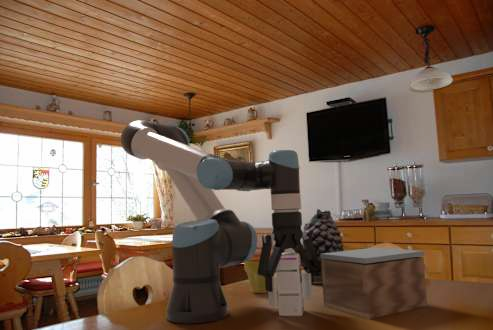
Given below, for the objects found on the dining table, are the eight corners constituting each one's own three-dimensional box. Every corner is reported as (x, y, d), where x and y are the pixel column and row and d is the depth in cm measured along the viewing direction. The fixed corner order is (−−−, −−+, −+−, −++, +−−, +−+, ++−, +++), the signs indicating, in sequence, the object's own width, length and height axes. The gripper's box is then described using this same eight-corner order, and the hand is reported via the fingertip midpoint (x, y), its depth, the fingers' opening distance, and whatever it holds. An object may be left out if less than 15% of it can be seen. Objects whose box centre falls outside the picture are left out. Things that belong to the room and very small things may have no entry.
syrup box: (302, 316, 96) (299, 254, 98) (278, 316, 98) (275, 254, 99) (304, 310, 102) (301, 251, 104) (280, 310, 103) (278, 252, 105)
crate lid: (365, 263, 93) (364, 258, 93) (320, 258, 107) (320, 253, 107) (424, 255, 103) (424, 251, 103) (376, 251, 117) (376, 247, 117)
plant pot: (240, 294, 125) (239, 261, 126) (251, 287, 135) (250, 257, 136) (273, 295, 122) (271, 261, 123) (281, 288, 131) (280, 257, 132)
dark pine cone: (306, 275, 155) (303, 209, 157) (347, 275, 151) (342, 208, 154) (299, 285, 135) (295, 210, 137) (346, 286, 131) (341, 208, 134)
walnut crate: (369, 319, 92) (365, 265, 93) (323, 305, 106) (321, 259, 107) (427, 306, 102) (423, 257, 103) (379, 295, 115) (376, 252, 117)
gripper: (312, 209, 111) (317, 293, 109) (240, 213, 101) (243, 305, 98) (330, 209, 105) (335, 298, 102) (255, 212, 94) (259, 312, 92)
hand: (290, 301), depth 100 cm, fingers open, 10 cm apart
